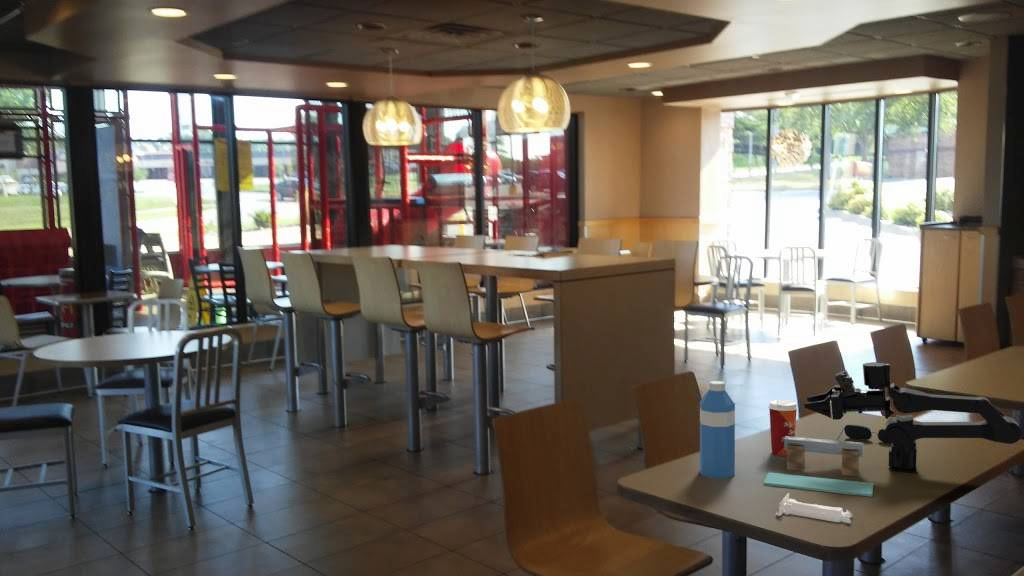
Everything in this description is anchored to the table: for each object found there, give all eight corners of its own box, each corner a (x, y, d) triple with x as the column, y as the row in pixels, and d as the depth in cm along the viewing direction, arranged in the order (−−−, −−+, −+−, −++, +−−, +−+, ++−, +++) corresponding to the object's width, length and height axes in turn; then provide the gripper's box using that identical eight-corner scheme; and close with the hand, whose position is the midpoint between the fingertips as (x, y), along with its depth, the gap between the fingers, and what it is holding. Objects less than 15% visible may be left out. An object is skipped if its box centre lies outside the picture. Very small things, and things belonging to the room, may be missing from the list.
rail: (862, 453, 233) (863, 442, 233) (862, 456, 231) (862, 445, 230) (785, 446, 242) (785, 436, 241) (784, 449, 239) (784, 438, 239)
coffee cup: (791, 459, 247) (792, 407, 245) (763, 454, 252) (763, 403, 250) (801, 451, 253) (802, 401, 252) (774, 447, 258) (774, 398, 257)
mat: (873, 485, 223) (873, 483, 223) (872, 496, 215) (872, 494, 215) (768, 474, 233) (768, 472, 233) (763, 484, 225) (763, 482, 225)
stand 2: (858, 469, 236) (859, 446, 235) (857, 476, 230) (858, 452, 230) (843, 468, 237) (843, 444, 237) (841, 474, 232) (842, 450, 231)
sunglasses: (905, 446, 258) (905, 430, 257) (897, 465, 246) (897, 449, 245) (844, 438, 268) (844, 423, 266) (834, 457, 256) (833, 441, 254)
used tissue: (782, 504, 212) (782, 488, 212) (856, 520, 201) (857, 503, 200) (763, 516, 205) (763, 499, 204) (839, 534, 193) (839, 516, 192)
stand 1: (804, 464, 242) (804, 441, 241) (802, 470, 236) (802, 447, 235) (789, 462, 243) (789, 440, 242) (787, 469, 238) (787, 445, 237)
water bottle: (737, 470, 238) (738, 380, 235) (731, 480, 229) (731, 387, 227) (703, 466, 242) (703, 378, 239) (696, 476, 233) (695, 384, 231)
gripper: (863, 366, 246) (806, 368, 252) (862, 377, 229) (800, 379, 235) (867, 405, 246) (809, 406, 253) (865, 419, 229) (803, 420, 236)
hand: (805, 402), depth 244 cm, fingers open, 9 cm apart
